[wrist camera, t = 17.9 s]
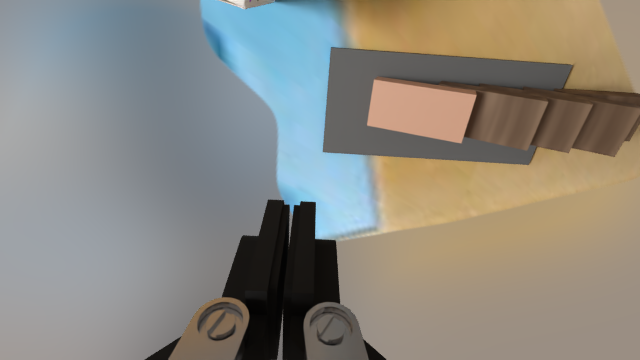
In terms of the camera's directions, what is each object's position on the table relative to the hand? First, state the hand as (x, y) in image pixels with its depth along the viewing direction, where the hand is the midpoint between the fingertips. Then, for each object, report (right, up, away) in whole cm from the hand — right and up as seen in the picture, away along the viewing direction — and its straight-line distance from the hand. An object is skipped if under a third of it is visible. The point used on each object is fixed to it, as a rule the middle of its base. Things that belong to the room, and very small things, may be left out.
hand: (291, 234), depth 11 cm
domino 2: (+14, +10, +24) cm, 29 cm away
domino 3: (+18, +10, +24) cm, 32 cm away
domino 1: (+7, +11, +24) cm, 27 cm away
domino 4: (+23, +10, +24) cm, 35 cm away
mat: (+15, +10, +25) cm, 31 cm away
